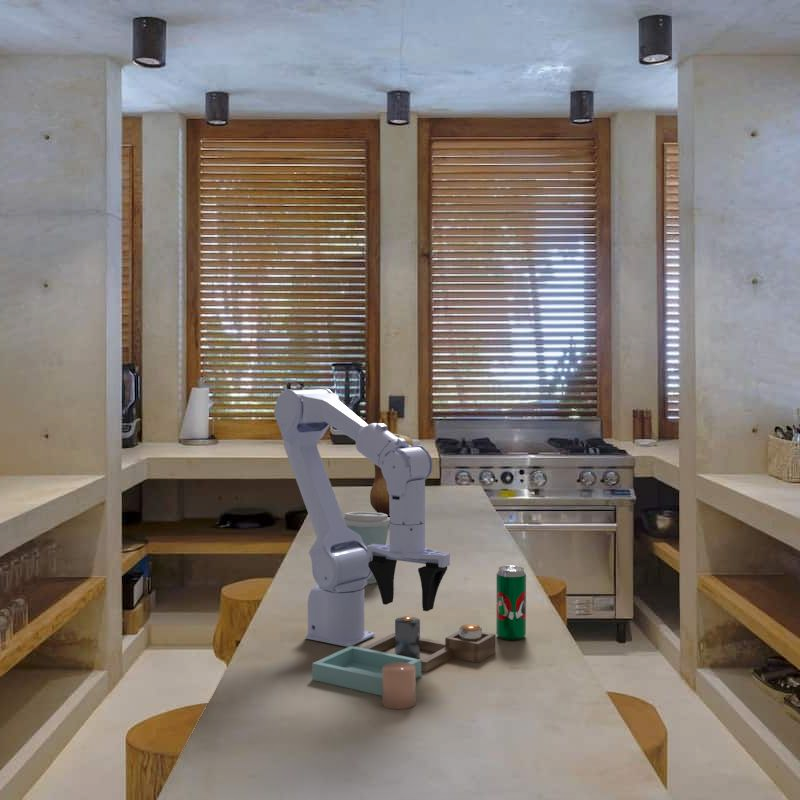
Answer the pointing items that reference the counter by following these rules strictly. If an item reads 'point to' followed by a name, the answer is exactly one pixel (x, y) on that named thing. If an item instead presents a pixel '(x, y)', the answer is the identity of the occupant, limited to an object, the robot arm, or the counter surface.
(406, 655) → the cell
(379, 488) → the butternut squash
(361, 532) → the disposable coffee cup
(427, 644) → the cradle
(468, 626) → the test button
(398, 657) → the teal tray
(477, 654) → the square wooden box
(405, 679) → the peach glossy rounded part
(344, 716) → the counter surface
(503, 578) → the soda can
